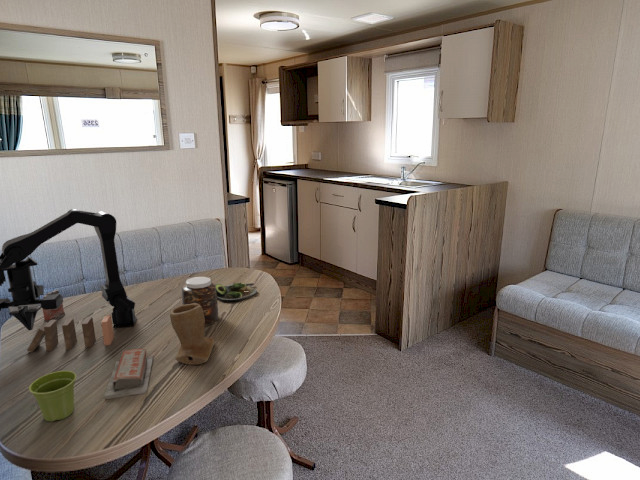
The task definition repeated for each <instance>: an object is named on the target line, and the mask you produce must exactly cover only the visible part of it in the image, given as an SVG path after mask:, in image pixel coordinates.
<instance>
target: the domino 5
mask: <svg viewBox="0 0 640 480" xmlns="http://www.w3.org/2000/svg"><path fill="white" fill-rule="evenodd" d="M100 323H101V329H102V335H103V337H102V338H103V342H104V343H103V344H104V346H111V344H112V342H113V340H114V339H115V337H114V328H113V321H112V314H108V315H105V316H104V317H103V319H102V320H101V322H100Z"/></svg>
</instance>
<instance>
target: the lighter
mask: <svg viewBox="0 0 640 480" xmlns="http://www.w3.org/2000/svg"><path fill="white" fill-rule="evenodd" d="M53 294H60V291H59V289H55V290H53V291H51V292H47V293H46V294H45V295H42V296H43V297H42V299H44V298H45V297H46V296H47V295H53ZM60 295H61V296H62V297H63V295H62V294H60ZM63 302H64V301H63ZM63 302H62V303H61V304H60V305H59V307H58V308H56V309H47V310H45V309H43V308H41V309H42V314H43V318H44V319H43V322H44V323H45V322H47V323H48V322H49V321H50V320H57V321H58V320H59V319H61V318H63V317H64V316H65V315H66V313H65V310H64V309H65V308H64V303H63ZM44 323H43V324H44Z"/></svg>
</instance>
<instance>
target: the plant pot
mask: <svg viewBox="0 0 640 480" xmlns="http://www.w3.org/2000/svg"><path fill="white" fill-rule="evenodd" d="M76 379H77V374H76V372H74V371H71V370H59V371H53V372H51V373H47V374H44V375H43V376H42V375H41V376H40V377H38V378H37V379H35V380H34V381H33V382H32V383H31V384H30V385H29V387H28V391H29V392H30V394H32V395H33V397H34V398H35V400H36V402H37V404H38V406H39V409H40V412H41V414H42V416H43V420H45V421H46V422H54V421H58V420H60V421H61V420H63V419H65V418H67V417H69V416H70V415H72V414H73V413H74V409H75V391H74V390H75V389H74V388H75V387H74V386H75V384H76V382H75V381H76Z"/></svg>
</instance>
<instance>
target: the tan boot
mask: <svg viewBox="0 0 640 480" xmlns="http://www.w3.org/2000/svg"><path fill="white" fill-rule="evenodd" d="M169 318H170V323H171V326H172V329H173V330H174V332H175V334H176V336H177V338H178V341H179V343H180V346H179V349H178V352H177V355H176V357H175V360H176V361H177V362H179V363H182V364H186V365H190V366H191V365H193V366H195V365H201V364H204V363H207V361H208V360H209V359H210V356H211V353H212V351H213V348H214V345H215V339H214V337H210V336H209V337H208V336H205V326H204V325H205V318H204V313H203V309H202V307H201V306H200V305H199V304H196V303H192V304H186V305H183V304H182V305H179V306H177V307H174V308H173V309H171V311H170V313H169Z"/></svg>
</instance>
